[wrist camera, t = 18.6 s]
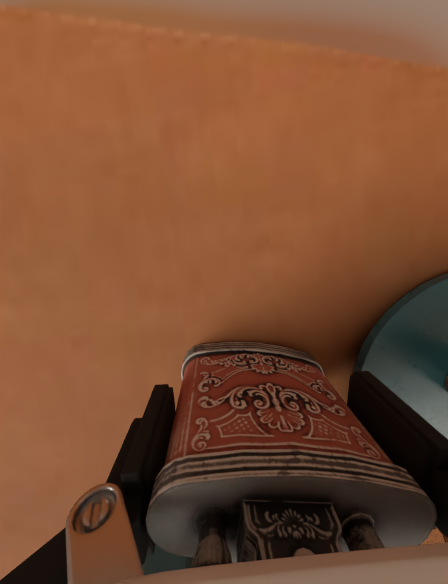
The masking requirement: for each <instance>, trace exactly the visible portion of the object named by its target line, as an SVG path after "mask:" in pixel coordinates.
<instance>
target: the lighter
mask: <svg viewBox="0 0 448 584" xmlns="http://www.w3.org/2000/svg"><path fill="white" fill-rule="evenodd" d="M181 377H182V385H181V390H180V394H179V399H178V404H177V408H176V413H175V418H174V422H173V427H172V431H171V436H170V441H169V445H168V450H167V455H166V459H165V464H164V467H163V468H162V470H161V471H160V472H159V474H158V475H157V477H156V479H155V483H154V487H153V491H152V495H151V500H150V504H149V508H148V512H147V516H146V526H147V531H148V534H149V535H150V537H151V539H152V540H153V542H154V543H155V544H156V545H158V546H159V547H160V548H162V549H163V550H164V551H166V552H169V553H173V554H176V555H180V556H186V557H193V561H192V567H191V568H196V567H204V566H212V565H220V564H230V563H240V562H249V561H259V560H268V559H278V558H287V557H297V556H307V555H318V554H328V553H338V552H348V551H359V550H369V549H379V548H390V547H401V546H412V545H420V544H421V543H422V542H424V541H425V540H426V539H427V537H428V536H429V534H430V533H431V531H432V530H433V528H434V525H435V521H436V517H437V515H436V509H435V505H434V503H433V502H432V501H431V500H430V498H429V497H428V496H427V495H426V494H425V492H424V491H423V490H422V489H421V487H420V486H419V485H418V484H417V483H416V481H415V480H414V479H413V478H412V477H411V475H410V474H409V473H408V472H407V470H406V469H404V468H402V467H399V466H397V465H394V464H393V463H392V461H391V460H390V459H389V458H388V456H387V455H386V454H385V452H384V451H383V450H382V449H381V447H380V446H379V445H378V444H377V442H376V441H375V440H374V439H373V437H372V436H371V435H370V434H369V432H368V431H367V430H366V428H365V427H364V426H363V425H362V423H361V422H360V421H359V420H358V418H357V417H356V416H355V415H354V413H353V412H352V411H351V410H350V408H349V407H348V406H347V404H346V403H345V402H344V401H343V399H342V398H341V397H340V396H339V394H338V393H337V392H336V391H335V389H334V388H333V387H332V386H331V384H330V383H329V382H328V381H327V379H326V378H325V377H324V372H323V369H322V368H321V366H320V365H319V364H318V363H317V361H316V360H315V359H314V358H313V357H312V356H311V355H309V354H308V353H305V352H301V351H297V350H294V349H290V348H286V347H283V346H276V345H270V344H263V343H256V342H221V343H210V344H201V345H197V346H194V347H193V348H192V349H190V350H189V351H188V352H187V354H186V355H185V358H184V362H183V366H182V370H181Z"/></svg>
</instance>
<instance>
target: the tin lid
mask: <svg viewBox="0 0 448 584" xmlns="http://www.w3.org/2000/svg"><path fill="white" fill-rule="evenodd" d="M355 371H369V372H371V373H372V374H373V375H374V376H375V377H376V378H377V379H379V380H380V381H381V382H382V383H383V384H384V385H386V386H387V387H388V388H389V389H390V390H391V391H393V392H394V393H395V394H396V395H397V396H398V397H399V398H401V399H402V400H403V401H404V402H405V403H406V404H408V405H409V406H410V407H411V408H412V409H413V410H415V411H416V412H417V413H418V414H419V415H420V416H421V417H423V418H424V419H425V420H426V421H427V422H428V423H430V424H431V425H432V426H433V427H434V428H435V429H436V430H438V431H439V432H440V433H441V434H442V435H443V436H445V437H446V438H447V439H448V273H446V274H443V275H440V276H438V277H435V278H433V279H431V280H429V281H427V282H425V283H423V284H421V285H419V286H418V287H416V288H415V289H413V290H412V291H410V292H409V293H407V294H406V295H405V296H403V297H402V298H401V299H400V300H398V301H397V302H396V303H395V304H394V305H393V306H392V307H391V308H390V309H389V310H388V311H387V312H386V313H385V314H384V315H383V316H382V317H381V318H380V319H379V321H378V322H377V323H376V324H375V326H374V327H373V328H372V330H371V331H370V333H369V335H368V336H367V338H366V339H365V341H364V343H363V345H362V347H361V349H360V351H359V354H358V357H357V360H356V363H355V366H354V371H353V373H354V372H355Z"/></svg>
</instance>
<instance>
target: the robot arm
mask: <svg viewBox="0 0 448 584" xmlns="http://www.w3.org/2000/svg"><path fill="white" fill-rule="evenodd" d="M347 406H348V407H349V408H350V410H351V411H352V412H353V413H354V415H355V416H356V417H357V418H358V420H359V421H360V422H361V423H362V425H363V426H364V427H365V428H366V430H367V431H368V432H369V434H370V435H371V436H372V437H373V439H374V440H375V441H376V442H377V444H378V445H379V446H380V447H381V449H382V450H383V451H384V452H385V454H386V455H387V456H388V458H389V459H390V460H391V461H392V463H393V464H394V465H397V466H399V467H402V468H404V469H406V470H407V472H408V473H409V474H410V475H411V477H412V478H413V479H414V480H415V481H416V483H417V484H418V485H419V486H420V487H421V489H422V490H423V491H424V492H425V494H426V495H427V496H428V497H429V498H430V500H431V501H432V502H433V503H434V505H435V509H436V515H437V517H436V521H435V525H434V528H433V529H436V527H437V528H438V529H439V530H440V532H441V533H442V534H443V538H444V541H445V543H435V544H423V545H412V546H401V547H390V548H379V549H369V550H359V551H348V552H338V553H328V554H318V555H307V556H297V557H287V558H278V559H268V560H259V561H249V562H240V563H230V564H220V565H212V566H204V567H196V568H188V569H180V570H173V571H165V572H159V573H154V574H149V575H144V573H143V569H142V566H143V564H144V563H145V560H146V556H153V555H154V550H155V545H156V544H155V543H154V542H153V540H152V539H151V537H150V535H149V534H148V531H147V526H146V516H147V512H148V508H149V504H150V500H151V495H152V491H153V487H154V483H155V479H156V477H157V475H158V474H159V472H160V471H161V470H162V468H163V467H164V464H165V459H166V455H167V450H168V445H169V441H170V436H171V431H172V427H173V422H174V418H175V413H176V411H175V402H174V394H173V388H172V387H169V386H168V384H163V385H155V387H154V389H153V392H152V394H151V397H150V399H149V402H148V404H147V407H146V410H145V412H144V415H143V417H142V418H135V419H134V420H133V422H132V424H131V426H130V428H129V431H128V433H127V435H126V438H125V440H124V442H123V445H122V447H121V449H120V452H119V454H118V456H117V458H116V461H115V463H114V465H113V468H112V470H111V472H110V475H109V477H108V479H107V481H106V483H104V484H100V485H97V486H95V487H93V488H91V489H90V490H89V491H87V492H86V493H84V494H83V495H82V496H81V497H80V498H79V499H78V500H77V501H76V503H75V504H74V506H73V507H72V509H71V510H70V513H69V515H68V517H67V521H66V528H64V529H63V530H62V531H61V532H59V533H58V534H57V535H56V536H54V537H53V538H52V539H51V540H50V541H48V542H47V543H46V544H45V545H43V546H42V547H41V548H40V549H38V550H37V551H36V552H35V553H34V554H32V555H31V556H30V557H29V558H27V559H26V560H25V561H24V562H22V563H21V564H20V565H19V566H17V567H16V568H15V569H14V570H13V571H11V572H10V573H9V574H8V575H6V576H5V577H4V578H3V579H1V580H0V584H448V439H447V438H446V437H445V436H443V435H442V434H441V433H440V432H439V431H438V430H436V429H435V428H434V427H433V426H432V425H431V424H430V423H428V422H427V421H426V420H425V419H424V418H423V417H421V416H420V415H419V414H418V413H417V412H416V411H415V410H413V409H412V408H411V407H410V406H409V405H408V404H406V403H405V402H404V401H403V400H402V399H401V398H399V397H398V396H397V395H396V394H395V393H394V392H393V391H391V390H390V389H389V388H388V387H387V386H386V385H384V384H383V383H382V382H381V381H380V380H379V379H377V378H376V377H375V376H374V375H373V374H372V373H371V372H369V371H355V372H354V373H353V375H351V376H350V381H349V391H348V401H347Z"/></svg>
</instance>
